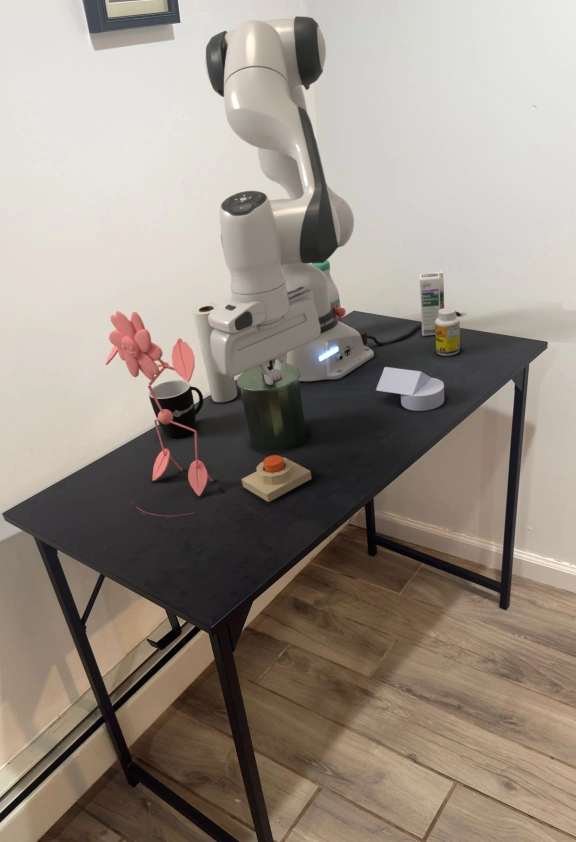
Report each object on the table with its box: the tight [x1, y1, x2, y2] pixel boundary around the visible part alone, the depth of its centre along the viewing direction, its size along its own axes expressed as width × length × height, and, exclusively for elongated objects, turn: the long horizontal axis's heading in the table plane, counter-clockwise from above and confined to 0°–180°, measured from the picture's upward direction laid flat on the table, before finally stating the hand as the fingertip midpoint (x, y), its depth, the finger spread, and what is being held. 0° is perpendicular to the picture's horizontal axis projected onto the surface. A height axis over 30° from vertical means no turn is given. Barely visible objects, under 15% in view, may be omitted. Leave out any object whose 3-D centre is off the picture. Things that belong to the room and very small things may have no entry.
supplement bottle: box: [435, 307, 461, 357], centre depth 169 cm, size 6×6×10 cm
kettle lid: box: [236, 359, 300, 392], centre depth 139 cm, size 12×12×5 cm
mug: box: [148, 379, 204, 439], centre depth 155 cm, size 12×9×10 cm
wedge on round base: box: [375, 366, 445, 412], centre depth 152 cm, size 9×7×13 cm
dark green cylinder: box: [239, 379, 307, 452], centre depth 144 cm, size 11×12×14 cm
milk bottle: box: [310, 259, 343, 323], centre depth 184 cm, size 8×8×20 cm
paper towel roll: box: [192, 301, 238, 403], centre depth 163 cm, size 7×6×21 cm
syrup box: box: [419, 270, 445, 337], centre depth 179 cm, size 6×6×14 cm
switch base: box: [241, 457, 313, 503], centre depth 132 cm, size 10×8×4 cm
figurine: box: [105, 310, 214, 519], centre depth 126 cm, size 15×26×35 cm, turn 48°
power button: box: [262, 454, 284, 473], centre depth 130 cm, size 4×4×2 cm
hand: (274, 381), depth 124 cm, fingers closed
